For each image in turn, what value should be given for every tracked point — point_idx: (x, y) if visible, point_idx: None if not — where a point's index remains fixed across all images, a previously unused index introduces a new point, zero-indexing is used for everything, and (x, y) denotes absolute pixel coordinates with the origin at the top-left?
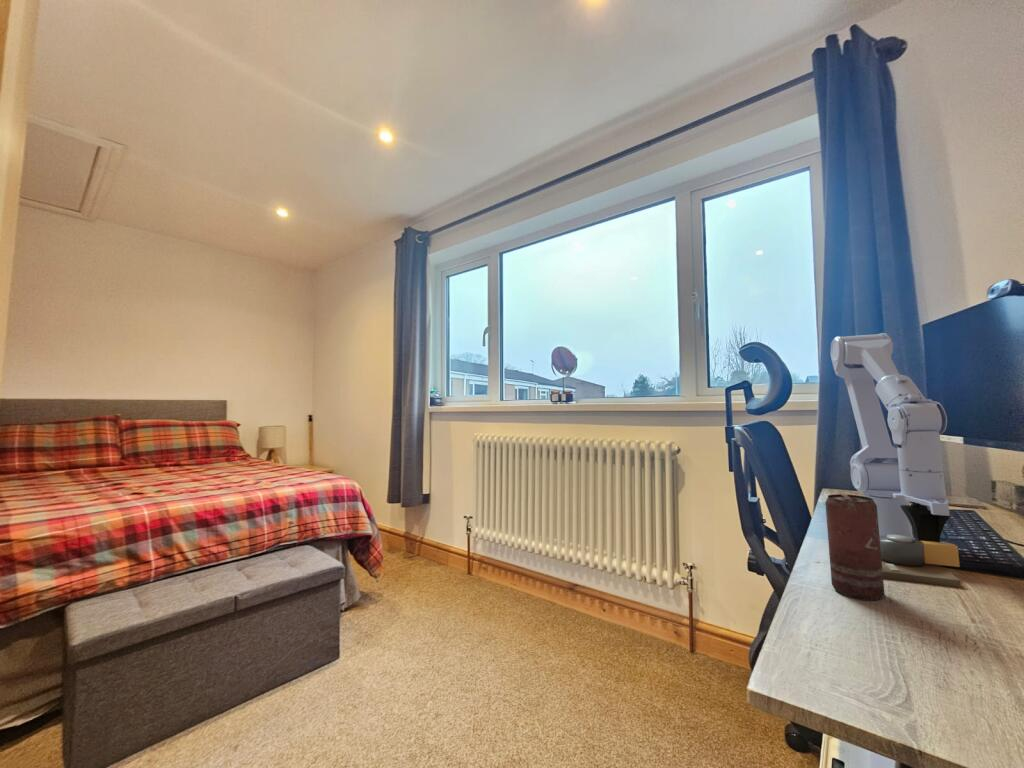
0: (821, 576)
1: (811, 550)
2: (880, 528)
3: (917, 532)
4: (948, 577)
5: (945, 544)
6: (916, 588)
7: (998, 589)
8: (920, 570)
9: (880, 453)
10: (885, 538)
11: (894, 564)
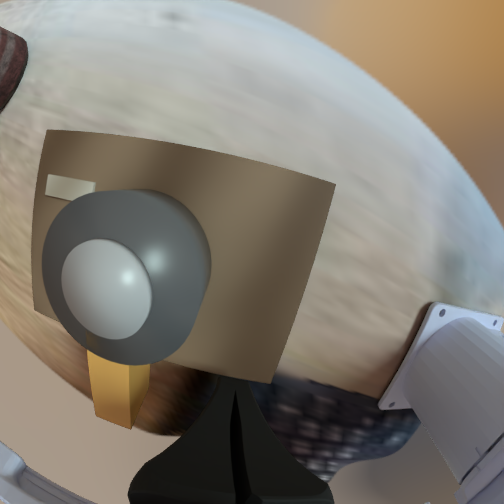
0: (70, 20)
1: (311, 38)
2: (449, 353)
3: (202, 411)
4: (42, 298)
5: (108, 406)
6: (15, 199)
7: (65, 365)
8: None
9: None
10: (121, 236)
11: None
